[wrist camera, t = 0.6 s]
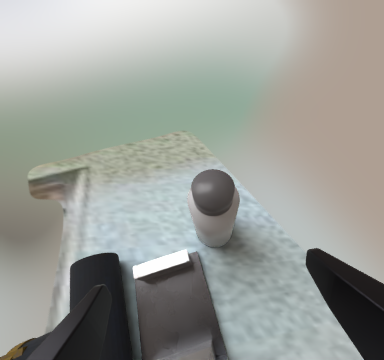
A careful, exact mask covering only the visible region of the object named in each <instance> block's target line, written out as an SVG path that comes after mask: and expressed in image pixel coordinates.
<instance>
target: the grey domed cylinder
mask: <svg viewBox="0 0 384 360" xmlns="http://www.w3.org/2000/svg"><path fill="white" fill-rule="evenodd" d="M187 202H188V207H189V210H190V213H191V217H192V220H193V223H194V226H195V230H196V233H197V236H198V238H199V239H200V241H201V242H202V243H203V244H205V245H207V246H209V247H220V246H223V245H224V244H226V243H227V242H228V241H229V239H230V238H231V235H232V231H233V227H234V223H235V219H236V215H237V211H238V207H239V202H240V198H239V193H238V191H237V189H236V187H235V185H234V182H233V180H232V178H231V177H230V176H229V175H228V174H227V173H225V172H223V171H220V170H214V169H212V170H206V171H203V172H201V173H200V174H198V175H197V176H196V177H195V178H194V180H193V182H192V185H191V188H190V190H189V193H188V197H187Z"/></svg>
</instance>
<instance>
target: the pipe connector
mask: <svg viewBox="0 0 384 360" xmlns="http://www.w3.org/2000/svg"><path fill="white" fill-rule="evenodd" d="M102 284H104V285H106V287H107V288H108V290H109V292H110V294H111V297H112V303H111V308H110V313H109V319H108V324H107V330H106V335H105V340H104V344H103V348H102V352H101V356H100V359H99V360H133V359H132V352H131V345H130V338H129V330H128V323H127V316H126V308H125V301H124V294H123V287H122V279H121V272H120V265H119V257H118V255H117V254H115V253H101V254H96V255H92V256H88V257H86V258H83V259H81V260H78V261H77V262H75V263H74V264H72V265H71V267H70V312H71V311H72V310H73V309H74V308H75V306H76V305H77V304H78V303H79V302H80V301H81V300H82V299H83V298H84V297H85V296H86V295H87V294H88V293H89V292H90V290H91V289H92V288H93V287H95V286H97V285H102ZM50 333H51V332H50ZM50 333H47V334H45V335H43V336H41V337H38V338H32V339H30V340H27V341H25V342H23V343H20V344H19V345H17V346H15V347H14V348H12V349H11V350H10V351H9V352H8V353H7V354H6V355H4V356H2V357H0V360H26V359H27V358H28V357H29V356H30V355H31V354H32V352H33V351H34V350H35V349H36V348H37V347H38V346H39V345H40V344H41V343H42V342H43V341H44V340H45V339H46V337H47V336H48V335H49V334H50Z"/></svg>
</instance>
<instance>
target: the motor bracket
mask: <svg viewBox="0 0 384 360" xmlns="http://www.w3.org/2000/svg"><path fill="white" fill-rule="evenodd" d="M133 275H134V279H135V286H136V298H137V309H138V320H139V331H140V342H141V353H142V360H228V357H227V353H226V350H225V346H224V343H223V340H222V336H221V333H220V329H219V326H218V322H217V319H216V315H215V312H214V308H213V305H212V301H211V298H210V294H209V291H208V287H207V284H206V281H205V277H204V274H203V270H202V267H201V263H200V260H199V256H198V253H197V252H194V253H191V254H189V253H188V252H187V250H183V251H180V252H177V253H174V254H171V255H168V256H164V257H161V258H158V259H155V260H152V261H149V262H146V263H143V264H140V265H137V266H134V267H133Z"/></svg>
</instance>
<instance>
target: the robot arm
mask: <svg viewBox="0 0 384 360" xmlns="http://www.w3.org/2000/svg"><path fill="white" fill-rule="evenodd" d="M306 267H307V269H308V271H309V273H310V274H311V276H312V278H313V280H314V282H315V284H316V285H317V287H318V289H319V291H320V293H321V294H322V296H323V298H324V300H325V301H326V303H327V305H328V307H329V308H330V310H331V311H332V313H333V314H334V316H335V317H336V319H337V320H338V322H339V323H340V325H341V326H342V328H343V329H344V331H345V332H346V334H347V335H348V336H349V338H350V339H351V341H352V342H353V344H354V345H355V347H356V348H357V350H358V351H359V353H360V354H361V356H362V357H363V359H364V360H384V284H383V283H381V282H379V281H377V280H375V279H374V278H372V277H370V276H368V275H366V274H364V273H363V272H361V271H359V270H357V269H355V268H353V267H352V266H350V265H348V264H346V263H344V262H342V261H341V260H339V259H337V258H335V257H333V256H331V255H330V254H328V253H326V252H324V251H322V250H320V249H318V248H314V249H309V250H308V251H307V256H306ZM111 303H112V297H111V294H110V292H109V290H108V288H107V287H106V285H104V284H102V285H97V286H95V287H93V288H92V289H91V290H90V292H89V293H88V294H87V295H86V296H85V297H84V298H83V299H82V300H81V301H80V302H79V303H78V304H77V305H76V306H75V308H74V309H73V310H72V311H71V312H70V313H69V314H68V315H67V316H66V317H65V318H64V319H63V320H62V321H61V323H60V324H59V325H58V326H57V327H56V328H55V329H54V330H53V331H52V332H51V333H50V334H49V335H48V336H47V337H46V339H45V340H44V341H43V342H42V343H41V344H40V345H39V346H38V347H37V348H36V349H35V350H34V351H33V352H32V354H31V355H30V356H29V357H28V358H27V359H26V360H99V359H100V356H101V352H102V348H103V344H104V340H105V335H106V330H107V324H108V319H109V313H110V308H111Z"/></svg>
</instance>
